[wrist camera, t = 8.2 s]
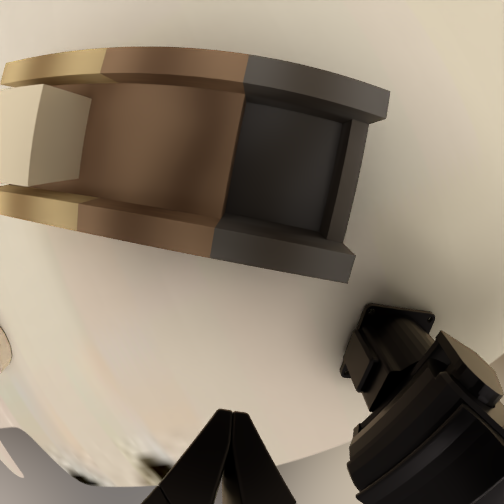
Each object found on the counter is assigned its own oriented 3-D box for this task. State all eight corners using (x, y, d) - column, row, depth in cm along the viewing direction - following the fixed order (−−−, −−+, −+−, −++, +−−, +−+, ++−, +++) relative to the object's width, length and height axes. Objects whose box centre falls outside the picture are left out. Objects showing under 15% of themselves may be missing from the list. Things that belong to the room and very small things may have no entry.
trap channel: (359, 107, 17) (390, 91, 12) (326, 255, 20) (347, 283, 15) (46, 75, 16) (5, 63, 11) (27, 199, 19) (-15, 211, 14)
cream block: (91, 98, 15) (43, 84, 10) (78, 178, 16) (27, 186, 11) (35, 100, 15) (-14, 92, 10) (24, 172, 16) (-26, 179, 11)
